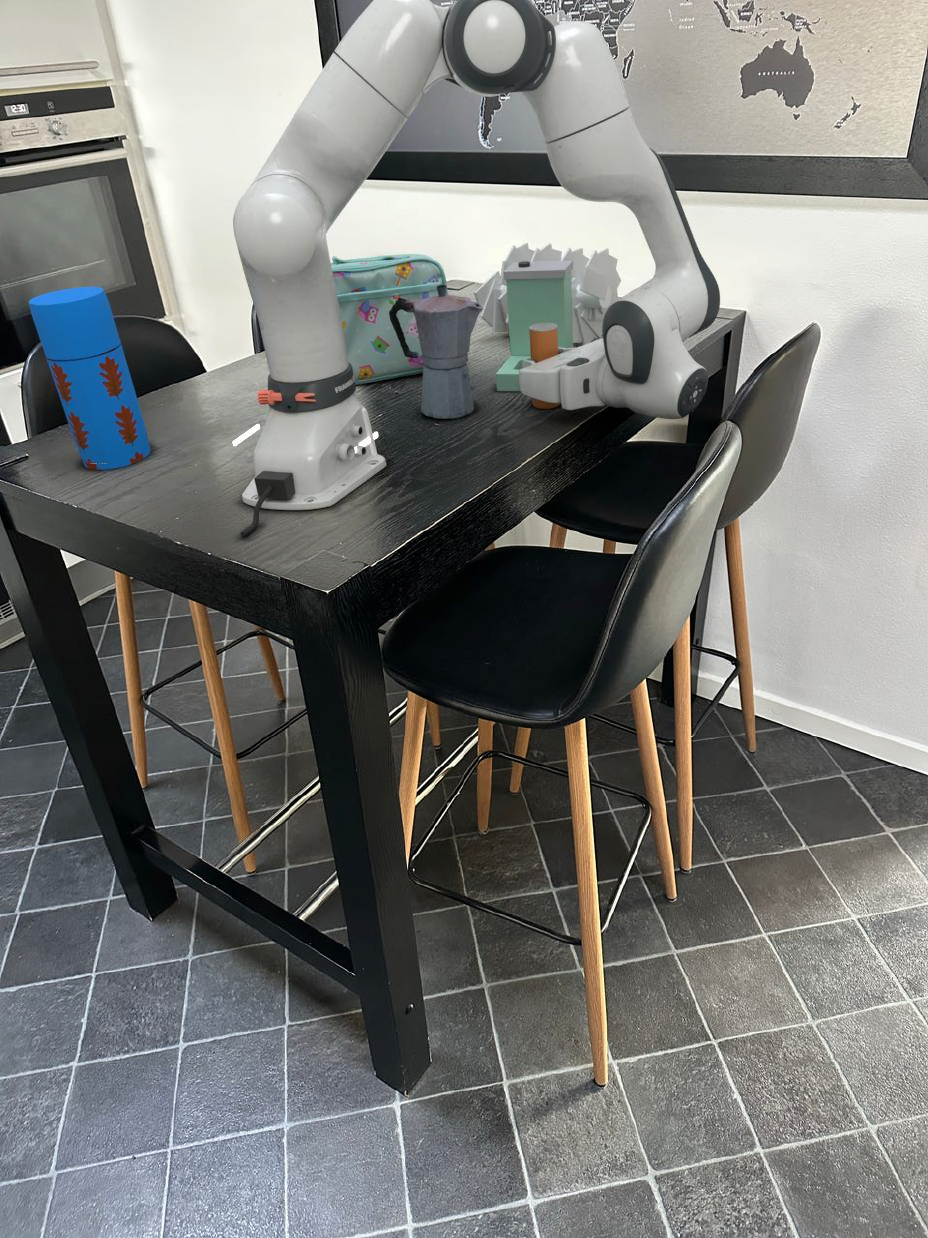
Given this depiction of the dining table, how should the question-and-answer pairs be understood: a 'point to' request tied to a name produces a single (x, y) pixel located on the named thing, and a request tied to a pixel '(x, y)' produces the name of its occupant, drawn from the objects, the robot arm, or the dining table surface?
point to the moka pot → (442, 350)
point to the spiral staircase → (589, 289)
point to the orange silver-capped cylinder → (543, 350)
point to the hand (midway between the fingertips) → (540, 358)
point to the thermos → (91, 376)
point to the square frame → (510, 374)
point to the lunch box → (383, 311)
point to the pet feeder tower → (539, 301)
